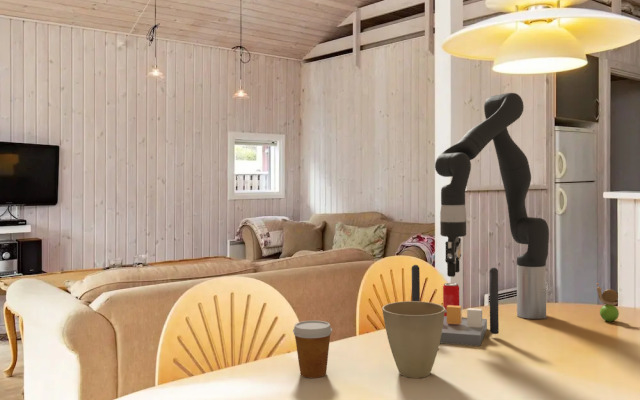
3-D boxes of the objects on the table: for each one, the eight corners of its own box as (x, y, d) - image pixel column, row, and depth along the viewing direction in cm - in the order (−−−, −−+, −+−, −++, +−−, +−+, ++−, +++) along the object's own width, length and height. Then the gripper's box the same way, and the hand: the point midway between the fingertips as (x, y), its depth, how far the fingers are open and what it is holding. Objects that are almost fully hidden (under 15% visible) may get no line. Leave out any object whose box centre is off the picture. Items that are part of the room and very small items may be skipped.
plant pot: (381, 363, 147) (380, 301, 147) (439, 363, 147) (439, 300, 146) (385, 384, 132) (384, 315, 132) (451, 383, 132) (450, 314, 131)
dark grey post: (498, 332, 170) (498, 267, 169) (498, 334, 168) (497, 268, 167) (490, 331, 171) (489, 266, 170) (489, 333, 169) (489, 268, 168)
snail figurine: (598, 318, 190) (598, 281, 190) (620, 320, 187) (620, 283, 186) (595, 321, 186) (594, 284, 186) (617, 324, 182) (617, 286, 182)
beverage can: (440, 319, 192) (439, 283, 192) (452, 317, 194) (452, 282, 194) (450, 323, 188) (449, 286, 187) (462, 321, 190) (462, 284, 189)
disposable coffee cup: (319, 383, 134) (318, 331, 134) (285, 376, 139) (284, 326, 139) (340, 371, 142) (339, 322, 142) (307, 365, 147) (306, 318, 147)
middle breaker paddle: (461, 322, 174) (461, 306, 174) (460, 324, 172) (460, 307, 171) (448, 321, 175) (447, 305, 175) (446, 323, 173) (446, 306, 173)
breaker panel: (487, 328, 180) (486, 302, 179) (480, 346, 161) (479, 317, 161) (432, 324, 186) (431, 299, 186) (419, 341, 167) (419, 313, 167)
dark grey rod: (420, 326, 178) (420, 264, 178) (419, 328, 176) (418, 265, 176) (413, 325, 179) (412, 264, 179) (411, 327, 177) (410, 265, 176)
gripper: (462, 221, 164) (463, 278, 165) (469, 218, 178) (469, 271, 178) (436, 221, 167) (436, 277, 168) (444, 218, 180) (444, 270, 181)
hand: (453, 274), depth 173 cm, fingers open, 8 cm apart
